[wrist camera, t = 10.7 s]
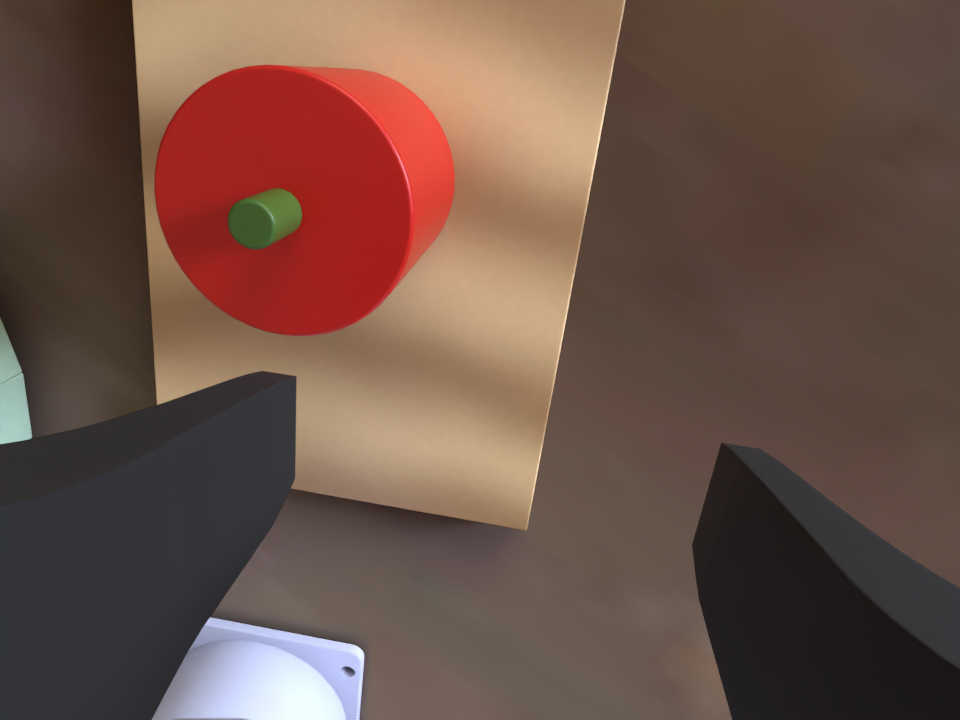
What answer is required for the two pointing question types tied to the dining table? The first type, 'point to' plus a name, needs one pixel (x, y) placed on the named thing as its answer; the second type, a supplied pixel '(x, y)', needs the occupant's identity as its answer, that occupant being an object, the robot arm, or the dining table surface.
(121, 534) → the robot arm
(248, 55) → the cutting board
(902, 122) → the dining table surface
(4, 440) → the bowl
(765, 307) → the dining table surface
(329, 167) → the pepper
